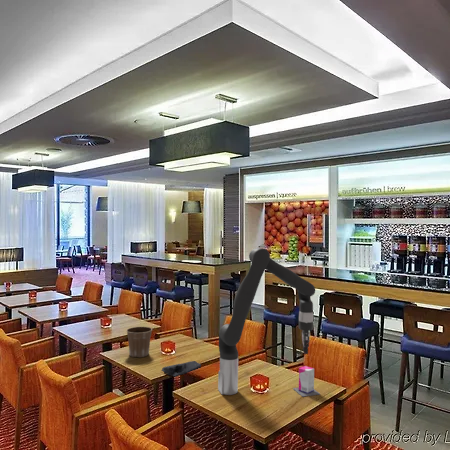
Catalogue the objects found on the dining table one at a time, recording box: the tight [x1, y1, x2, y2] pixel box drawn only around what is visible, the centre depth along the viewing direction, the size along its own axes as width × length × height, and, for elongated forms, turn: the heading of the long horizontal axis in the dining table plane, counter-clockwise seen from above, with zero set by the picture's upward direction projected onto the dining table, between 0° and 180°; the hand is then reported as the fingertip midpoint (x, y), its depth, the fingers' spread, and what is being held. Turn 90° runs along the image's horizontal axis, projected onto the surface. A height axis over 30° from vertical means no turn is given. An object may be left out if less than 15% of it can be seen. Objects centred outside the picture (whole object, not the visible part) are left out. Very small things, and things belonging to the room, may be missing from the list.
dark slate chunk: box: [161, 360, 202, 378], centre depth 234 cm, size 15×22×5 cm
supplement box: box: [298, 365, 315, 394], centre depth 206 cm, size 6×6×12 cm
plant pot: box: [125, 326, 153, 358], centre depth 260 cm, size 16×16×16 cm
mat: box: [292, 386, 321, 398], centre depth 206 cm, size 10×10×1 cm
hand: (305, 352), depth 215 cm, fingers open, 4 cm apart
